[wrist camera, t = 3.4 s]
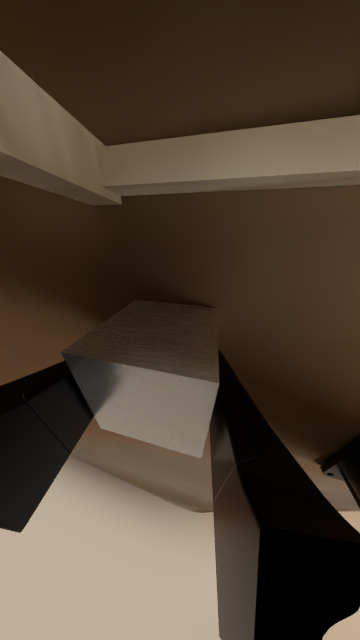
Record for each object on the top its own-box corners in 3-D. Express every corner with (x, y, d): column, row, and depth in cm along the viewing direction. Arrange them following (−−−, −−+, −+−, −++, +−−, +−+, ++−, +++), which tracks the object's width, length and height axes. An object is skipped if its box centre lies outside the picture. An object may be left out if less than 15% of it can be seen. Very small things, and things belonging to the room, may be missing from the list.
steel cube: (206, 369, 10) (201, 458, 6) (144, 357, 11) (100, 428, 7) (216, 307, 8) (219, 383, 4) (136, 299, 9) (60, 352, 4)
